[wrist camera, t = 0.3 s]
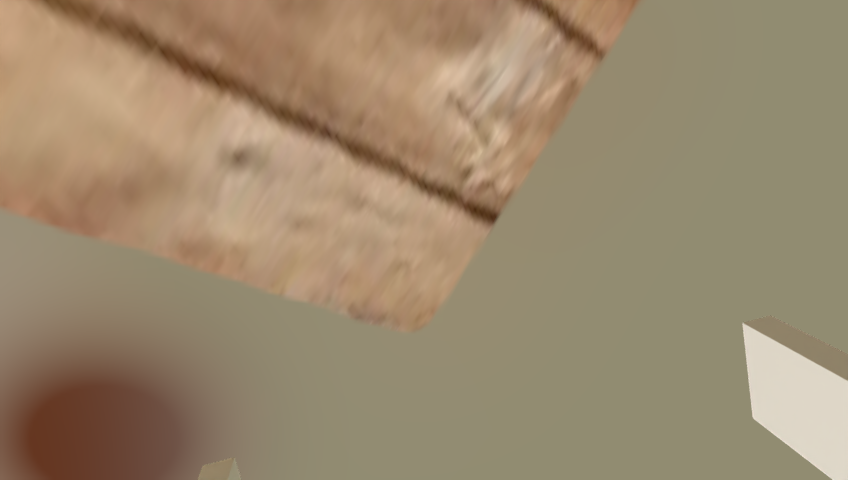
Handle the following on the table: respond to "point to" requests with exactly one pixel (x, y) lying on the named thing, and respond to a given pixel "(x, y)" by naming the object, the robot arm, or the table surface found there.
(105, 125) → the table surface
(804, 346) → the robot arm
